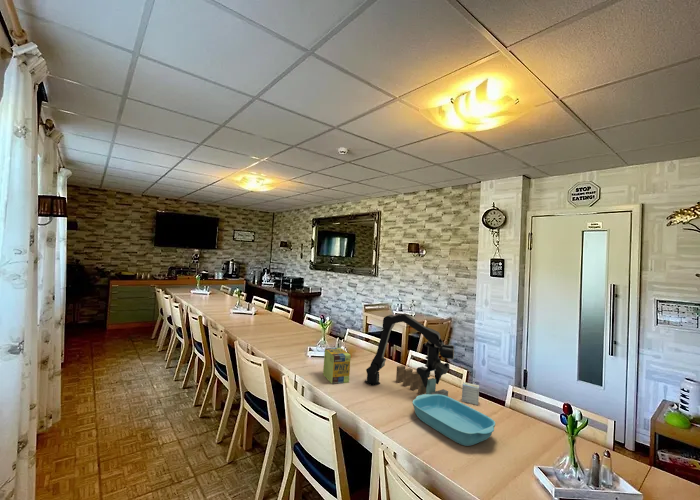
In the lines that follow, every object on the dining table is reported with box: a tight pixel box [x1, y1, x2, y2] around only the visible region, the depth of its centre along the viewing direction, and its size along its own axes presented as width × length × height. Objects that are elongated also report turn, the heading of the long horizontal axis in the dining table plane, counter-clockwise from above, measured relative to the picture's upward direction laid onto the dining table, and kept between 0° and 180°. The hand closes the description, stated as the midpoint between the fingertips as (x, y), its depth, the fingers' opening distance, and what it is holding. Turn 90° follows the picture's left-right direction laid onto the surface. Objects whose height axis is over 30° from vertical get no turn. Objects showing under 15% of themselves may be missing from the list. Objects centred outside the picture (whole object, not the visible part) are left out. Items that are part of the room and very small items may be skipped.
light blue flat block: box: [425, 377, 437, 394], centre depth 165 cm, size 2×5×9 cm, turn 126°
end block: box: [431, 388, 449, 397], centre depth 161 cm, size 10×3×4 cm, turn 126°
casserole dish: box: [412, 393, 496, 447], centre depth 136 cm, size 37×22×7 cm, turn 33°
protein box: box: [322, 347, 352, 385], centre depth 182 cm, size 10×15×16 cm
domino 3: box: [409, 371, 420, 391], centre depth 174 cm, size 2×5×9 cm, turn 126°
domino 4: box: [417, 376, 426, 395], centre depth 170 cm, size 2×5×9 cm, turn 126°
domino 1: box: [395, 364, 406, 384], centre depth 183 cm, size 2×5×9 cm, turn 126°
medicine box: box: [461, 381, 480, 406], centre depth 162 cm, size 8×4×9 cm, turn 65°
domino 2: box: [402, 367, 414, 388], centre depth 179 cm, size 2×5×9 cm, turn 126°
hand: (431, 385), depth 165 cm, fingers open, 9 cm apart
